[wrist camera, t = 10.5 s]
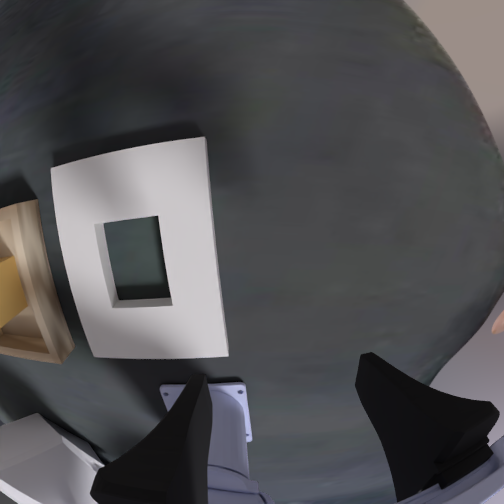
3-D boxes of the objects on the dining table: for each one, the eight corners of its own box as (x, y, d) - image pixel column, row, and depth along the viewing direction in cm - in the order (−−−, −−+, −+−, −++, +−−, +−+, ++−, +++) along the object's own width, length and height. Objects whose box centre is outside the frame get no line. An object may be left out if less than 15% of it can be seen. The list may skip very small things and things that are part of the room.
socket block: (228, 345, 22) (228, 356, 21) (100, 347, 22) (94, 357, 20) (206, 139, 18) (204, 136, 16) (61, 168, 17) (50, 168, 16)
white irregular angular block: (82, 553, 13) (141, 559, 12) (-53, 457, 7) (-55, 432, 7) (98, 483, 30) (152, 463, 29) (-9, 397, 24) (16, 352, 23)
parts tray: (75, 346, 21) (61, 364, 19) (4, 338, 21) (-10, 351, 18) (37, 199, 18) (16, 203, 15) (-29, 220, 17) (-47, 226, 14)
